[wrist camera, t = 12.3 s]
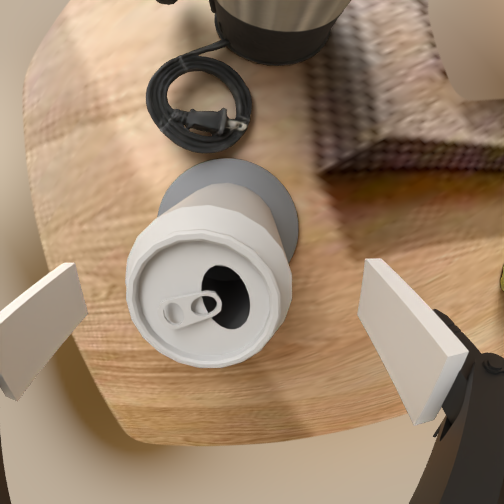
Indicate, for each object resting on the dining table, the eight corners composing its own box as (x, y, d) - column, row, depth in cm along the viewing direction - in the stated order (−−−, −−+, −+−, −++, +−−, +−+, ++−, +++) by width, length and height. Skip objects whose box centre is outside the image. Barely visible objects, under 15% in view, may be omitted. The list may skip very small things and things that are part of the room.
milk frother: (323, -18, 16) (378, -126, 2) (346, 146, 21) (477, 148, 7) (157, -6, 16) (85, -105, 2) (163, 159, 21) (37, 178, 7)
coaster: (154, 163, 21) (151, 163, 20) (297, 157, 21) (298, 157, 20) (168, 291, 25) (165, 296, 24) (295, 290, 25) (296, 294, 24)
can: (283, 265, 23) (309, 367, 12) (193, 284, 24) (150, 387, 12) (263, 171, 21) (277, 191, 9) (166, 195, 21) (84, 240, 10)
